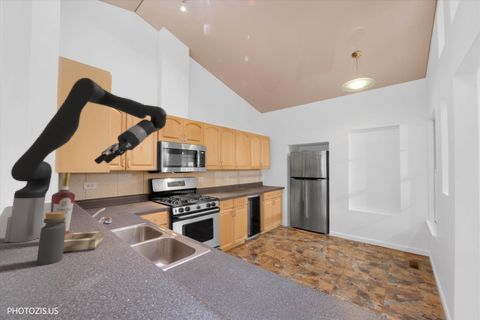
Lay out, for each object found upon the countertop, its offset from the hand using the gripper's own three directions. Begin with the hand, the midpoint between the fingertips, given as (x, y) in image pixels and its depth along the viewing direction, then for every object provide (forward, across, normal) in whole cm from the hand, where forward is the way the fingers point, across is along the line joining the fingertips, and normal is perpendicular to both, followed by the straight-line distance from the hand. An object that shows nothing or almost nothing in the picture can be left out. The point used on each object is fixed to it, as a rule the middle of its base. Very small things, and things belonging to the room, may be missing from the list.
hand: (100, 161), depth 74 cm
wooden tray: (+24, -9, +22) cm, 34 cm away
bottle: (+31, 0, +15) cm, 35 cm away
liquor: (+27, -22, +19) cm, 40 cm away
